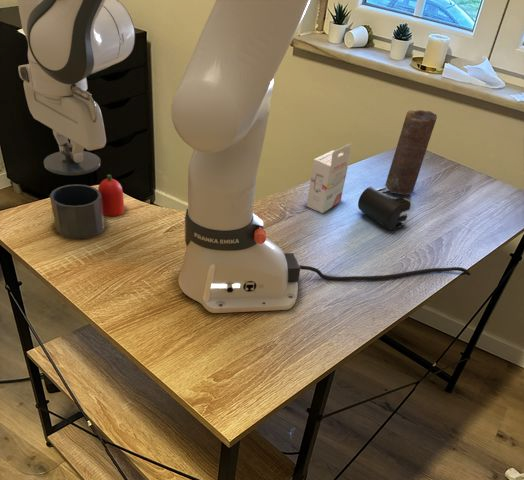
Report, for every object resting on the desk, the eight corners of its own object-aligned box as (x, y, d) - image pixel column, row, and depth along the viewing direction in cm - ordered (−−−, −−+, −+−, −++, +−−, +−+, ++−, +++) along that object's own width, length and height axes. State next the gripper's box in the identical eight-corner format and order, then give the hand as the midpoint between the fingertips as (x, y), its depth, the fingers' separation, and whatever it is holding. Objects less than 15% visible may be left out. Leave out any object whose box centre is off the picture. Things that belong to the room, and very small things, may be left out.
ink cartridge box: (323, 195, 132) (335, 136, 122) (340, 202, 130) (353, 143, 120) (304, 206, 127) (315, 145, 117) (322, 214, 125) (334, 152, 115)
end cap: (354, 215, 126) (360, 188, 122) (374, 209, 130) (381, 182, 125) (384, 234, 121) (392, 207, 116) (405, 227, 124) (413, 201, 120)
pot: (108, 217, 113) (105, 186, 109) (98, 240, 106) (95, 209, 102) (62, 213, 113) (57, 182, 108) (49, 236, 106) (43, 204, 101)
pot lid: (106, 158, 105) (103, 137, 102) (94, 180, 97) (91, 158, 94) (53, 154, 104) (49, 132, 101) (37, 176, 97) (33, 153, 94)
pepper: (126, 206, 118) (123, 171, 112) (121, 217, 114) (119, 181, 109) (103, 204, 117) (99, 169, 112) (98, 215, 114) (94, 179, 108)
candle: (414, 200, 136) (440, 120, 122) (386, 197, 135) (409, 116, 122) (409, 187, 141) (433, 109, 128) (382, 184, 141) (403, 105, 128)
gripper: (110, 91, 87) (118, 172, 96) (45, 60, 97) (58, 136, 106) (76, 98, 84) (87, 181, 93) (12, 65, 93) (29, 143, 103)
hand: (71, 157), depth 100 cm, fingers closed on pot lid, 2 cm apart
